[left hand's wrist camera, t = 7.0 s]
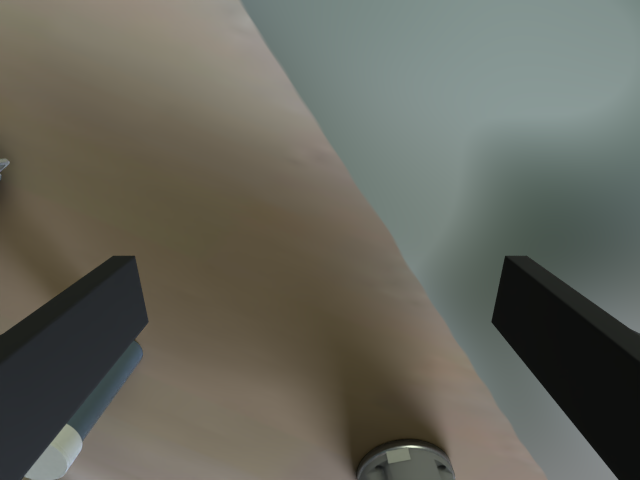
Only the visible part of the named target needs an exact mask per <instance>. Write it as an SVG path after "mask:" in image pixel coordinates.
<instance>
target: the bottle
mask: <svg viewBox="0 0 640 480" xmlns="http://www.w3.org/2000/svg"><path fill="white" fill-rule="evenodd" d="M142 356H143V351H142V348H141V347H140V345H139V344H138V343H137V342H136V341H133V342H132V343H131V344H130V346H129V347H128V348H127V349H126V351H125V352H124V353H123V354H122V356H121V357H120V358H119V359H118V361H117V362H116V363H115V364H114V365H113V367H112V368H111V369H110V370H109V372H108V373H107V374H106V375H105V377H104V378H103V379H102V380H101V382H100V383H99V384H98V385H97V387H96V388H95V389H94V390H93V392H92V393H91V394H90V395H89V396H88V398H87V399H86V400H85V401H84V403H83V404H82V405H81V406H80V408H79V409H78V410H77V411H76V413H75V414H74V415H73V416H72V418H71V419H70V420H69V421H68V423H67V424H68V425H69V426H71V427H72V428H74V429H75V430H76V431H77V432H78V434H79V435H80V437H81V439H82V442H83V440H84V439H85V438H86V436H87V435H88V433H89V432H90V431H91V429H92V428H93V426H94V425H95V424H96V422H97V421H98V419H99V418H100V417H101V415H102V414H103V412H104V411H105V410H106V408H107V407H108V405H109V404H110V403H111V401H112V400H113V398H114V397H115V396H116V394H117V393H118V391H119V390H120V389H121V387H122V386H123V384H124V383H125V382H126V380H127V379H128V377H129V376H130V375H131V373H132V372H133V370H134V369H135V368H136V366H137V365H138V363H139V362H140V361H141V359H142Z"/></svg>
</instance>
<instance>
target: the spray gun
mask: <svg viewBox="0 0 640 480" xmlns="http://www.w3.org/2000/svg"><path fill="white" fill-rule="evenodd" d="M9 164H10V162H9V161H8V160H7V159H0V172H1V171H2V170H3V169H4V168H5V167H6V166H7V165H9ZM1 176H2V175H1V174H0V180H1Z"/></svg>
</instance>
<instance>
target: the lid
mask: <svg viewBox="0 0 640 480" xmlns="http://www.w3.org/2000/svg"><path fill="white" fill-rule="evenodd" d="M81 449H82V439H81V437H80V435H79V434H78V432H77V431H76V430H75V429H74V428H72V427H71V426H69V425H68V424H66V425H65V426H64V427H63V429H62V430H61V431H60V432H59V434H58V435H57V436H56V437H55V439H54V440H53V441H52V442H51V444H50V445H49V446H48V447H47V449H46V450H45V451H44V452H43V454H42V455H41V456H40V457H39V458H38V460H37V461H36V462H35V463H34V465H33V466H32V467H31V468H30V470H29V471H28V472H27V473H26V475H25V476H24V477H27V478H29V479H33V480H56V479H58V478H60V477H62V476H63V475H64V474H65V473H66V471H67V470H68V468H69V467H70V466H71V464H72V463H73V461H74V460H75V458H76V457H77V456H78V454H79V453H80V451H81Z"/></svg>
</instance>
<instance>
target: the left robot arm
mask: <svg viewBox="0 0 640 480" xmlns="http://www.w3.org/2000/svg"><path fill="white" fill-rule="evenodd" d="M147 323H148V317H147V312H146V307H145V302H144V298H143V293H142V288H141V283H140V278H139V274H138V269H137V264H136V259H135V256H112V257H111V258H109V259H108V260H107V261H105V262H104V263H102V264H101V265H100V266H98V267H97V268H95V269H94V270H93V271H91V272H90V273H88V274H87V275H85V276H84V277H83V278H81V279H80V280H78V281H77V282H76V283H74V284H73V285H71V286H70V287H69V288H67V289H66V290H64V291H63V292H61V293H60V294H59V295H57V296H56V297H54V298H53V299H52V300H50V301H49V302H47V303H46V304H44V305H43V306H42V307H40V308H39V309H37V310H36V311H35V312H33V313H32V314H30V315H29V316H28V317H26V318H25V319H23V320H22V321H20V322H19V323H18V324H16V325H15V326H13V327H12V328H11V329H9V330H8V331H6V332H5V333H4V334H2V335H0V480H22V478H23V477H24V476H25V475H26V473H27V472H28V471H29V470H30V468H31V467H32V466H33V465H34V463H35V462H36V461H37V460H38V458H39V457H40V456H41V455H42V454H43V452H44V451H45V450H46V449H47V447H48V446H49V445H50V444H51V442H52V441H53V440H54V439H55V437H56V436H57V435H58V434H59V432H60V431H61V430H62V429H63V427H64V426H65V425H66V424H67V423H68V421H69V420H70V419H71V418H72V416H73V415H74V414H75V413H76V411H77V410H78V409H79V408H80V406H81V405H82V404H83V403H84V401H85V400H86V399H87V398H88V396H89V395H90V394H91V393H92V392H93V390H94V389H95V388H96V387H97V385H98V384H99V383H100V382H101V380H102V379H103V378H104V377H105V375H106V374H107V373H108V372H109V370H110V369H111V368H112V367H113V365H114V364H115V363H116V362H117V361H118V359H119V358H120V357H121V356H122V354H123V353H124V352H125V351H126V349H127V348H128V347H129V346H130V344H131V343H132V342H133V341H134V339H135V338H136V337H137V336H138V335H139V333H140V332H141V331H142V330H143V328H144V327H145V326H146V325H147ZM492 323H493V325H494V326H495V327H496V328H497V330H498V331H499V332H500V333H501V334H502V336H503V337H504V338H505V339H506V341H507V342H508V343H509V344H510V346H511V347H512V348H513V349H514V351H515V352H516V353H517V354H518V355H519V357H520V358H521V359H522V361H523V362H524V363H525V364H526V365H527V367H528V368H529V369H530V370H531V372H532V373H533V374H534V375H535V377H536V378H537V379H538V380H539V382H540V383H541V384H542V385H543V387H544V388H545V389H546V390H547V392H548V393H549V394H550V395H551V396H552V398H553V399H554V400H555V401H556V403H557V404H558V405H559V406H560V408H561V409H562V410H563V411H564V413H565V414H566V415H567V416H568V418H569V419H570V420H571V421H572V423H573V424H574V425H575V426H576V427H577V429H578V430H579V431H580V432H581V434H582V435H583V436H584V437H585V439H586V440H587V441H588V442H589V444H590V445H591V446H592V447H593V449H594V450H595V451H596V452H597V453H598V455H599V456H600V457H601V458H602V460H603V461H604V462H605V463H606V465H607V466H608V467H609V468H610V470H611V471H612V472H613V473H614V475H615V476H616V477H617V478H618V480H640V333H637V332H635V331H633V330H631V329H629V328H628V327H627V326H625V325H624V324H622V323H621V322H619V321H618V320H617V319H615V318H614V317H612V316H611V315H610V314H608V313H607V312H605V311H604V310H603V309H601V308H600V307H598V306H597V305H596V304H594V303H593V302H591V301H590V300H588V299H587V298H586V297H584V296H583V295H581V294H580V293H579V292H577V291H576V290H574V289H573V288H571V287H570V286H569V285H567V284H566V283H564V282H563V281H562V280H560V279H559V278H557V277H556V276H555V275H553V274H552V273H550V272H549V271H547V270H546V269H545V268H543V267H542V266H540V265H539V264H538V263H536V262H535V261H533V260H532V259H531V258H529V257H528V256H505V259H504V264H503V269H502V274H501V278H500V284H499V288H498V293H497V298H496V302H495V307H494V312H493V317H492ZM357 480H455V474H454V471H453V468H452V465H451V463H450V460H449V458H448V456H447V455H446V454H445V453H444V452H443V451H442V450H441V449H440V448H438V447H437V446H435V445H433V444H431V443H428V442H425V441H421V440H413V439H403V440H396V441H391V442H388V443H385V444H382V445H380V446H378V447H376V448H375V449H373V450H371V451H370V452H369V453H368V454H367V455H366V456H365V457H364V458H363V459H362V461H361V462H360V464H359V467H358V470H357Z"/></svg>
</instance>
